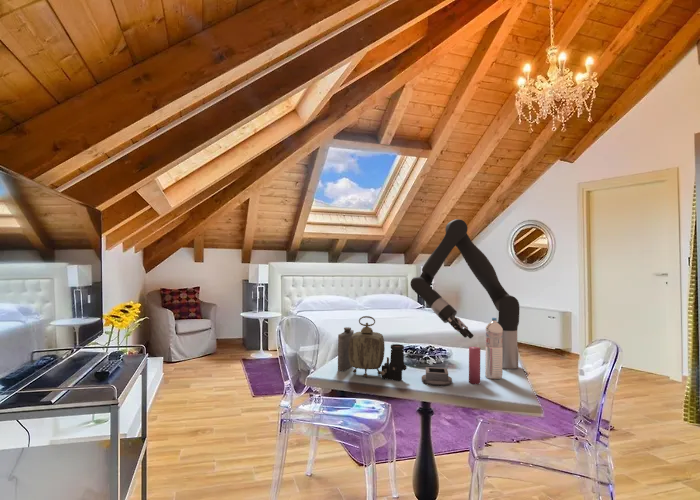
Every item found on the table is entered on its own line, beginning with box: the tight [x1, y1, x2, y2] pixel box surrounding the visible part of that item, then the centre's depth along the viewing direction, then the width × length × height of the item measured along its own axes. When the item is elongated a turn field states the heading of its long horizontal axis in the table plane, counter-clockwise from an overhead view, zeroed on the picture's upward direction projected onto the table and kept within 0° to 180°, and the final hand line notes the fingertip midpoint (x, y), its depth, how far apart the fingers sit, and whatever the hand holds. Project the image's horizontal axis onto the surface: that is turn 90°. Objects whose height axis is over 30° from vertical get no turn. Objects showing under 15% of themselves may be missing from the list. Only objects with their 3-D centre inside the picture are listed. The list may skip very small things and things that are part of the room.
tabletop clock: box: [348, 315, 385, 378], centre depth 176 cm, size 14×9×25 cm, turn 80°
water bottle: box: [484, 317, 504, 380], centre depth 176 cm, size 7×7×25 cm
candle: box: [468, 346, 481, 385], centre depth 168 cm, size 4×4×14 cm
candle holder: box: [421, 366, 453, 387], centre depth 169 cm, size 12×12×4 cm
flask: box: [337, 326, 355, 373], centre depth 188 cm, size 4×14×18 cm, turn 160°
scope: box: [380, 343, 407, 382], centre depth 172 cm, size 8×14×10 cm
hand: (469, 336), depth 180 cm, fingers open, 8 cm apart
